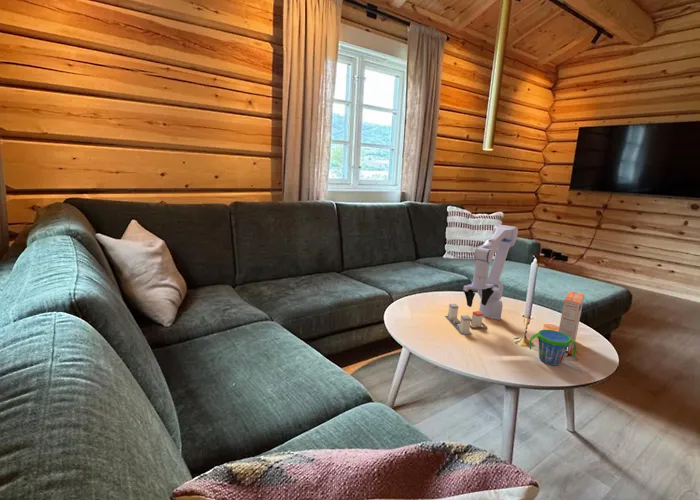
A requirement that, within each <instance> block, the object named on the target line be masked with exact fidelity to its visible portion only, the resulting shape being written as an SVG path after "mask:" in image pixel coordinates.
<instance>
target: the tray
mask: <svg viewBox="0 0 700 500" xmlns="http://www.w3.org/2000/svg"><path fill="white" fill-rule="evenodd" d="M471 322H472V318H471ZM471 322H470V323H471ZM470 329H471V330H488V326H487V325H486V324H485V323H483V321H482V325H481V327H475V326H473V325H471V324H470Z"/></svg>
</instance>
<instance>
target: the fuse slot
mask: <svg viewBox="0 0 700 500" xmlns="http://www.w3.org/2000/svg"><path fill="white" fill-rule="evenodd" d="M471 319H472V317H470V316H469V315H460V320H459V321H460V328H459V330H460V331H461V332H462V333H463V331H470V329H471V328H470V325H471Z"/></svg>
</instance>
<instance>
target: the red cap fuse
mask: <svg viewBox="0 0 700 500" xmlns="http://www.w3.org/2000/svg"><path fill="white" fill-rule="evenodd" d="M483 318H484V316H483V313H481V312H479V310H476V311H475V310H474V311H472V317H471V319H472V322H470V325H471V326H473V327H482V322H483Z"/></svg>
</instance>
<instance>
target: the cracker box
mask: <svg viewBox="0 0 700 500" xmlns="http://www.w3.org/2000/svg"><path fill="white" fill-rule="evenodd" d="M584 299H585V294H584V293H579V292H576V291H572V290H571V291H570V290H569V291H568V293H567V294H566V296H565V298H564V300H563V305H562V310H561V316H560V323H559V327H558V328H559V329H558V332H561V333H564V334H566V335H567V336H569V337H570V339H572V340H573V341H574V342H575V343H576V339H577V334H578V329H579V324H580V320H581V319H580V318H581V315H582V309H583V303H584ZM573 349H574V344H573V343H572V342H571V343H570V344H569V346H568V352H567V353H569V354H572V353H573Z"/></svg>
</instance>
